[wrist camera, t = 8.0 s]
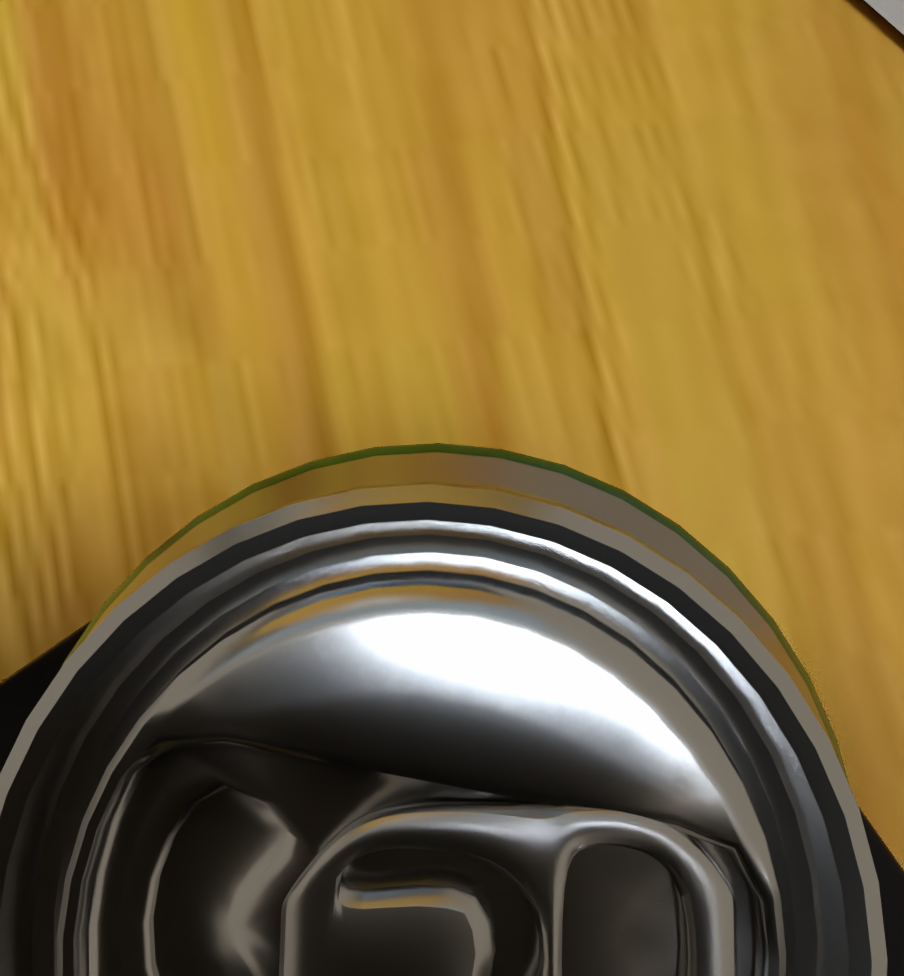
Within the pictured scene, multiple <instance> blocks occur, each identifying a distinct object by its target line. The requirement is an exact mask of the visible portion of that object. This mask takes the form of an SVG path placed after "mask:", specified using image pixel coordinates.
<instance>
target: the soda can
mask: <svg viewBox="0 0 904 976" xmlns="http://www.w3.org/2000/svg"><path fill="white" fill-rule="evenodd" d="M0 976H887V951H886V942H885V933H884V924H883V915H882V907H881V898H880V889H879V881H878V878H877V874H876V870H875V866H874V863H873V859H872V855H871V851H870V848H869V844H868V840H867V836H866V833H865V829H864V825H863V821H862V818H861V814H860V810H859V807H858V805H857V802H856V800H855V798H854V796H853V793H852V791H851V789H850V786H849V783H848V779H847V775H846V771H845V768H844V764H843V760H842V756H841V753H840V749H839V745H838V741H837V739H836V736H835V734H834V732H833V730H832V727H831V725H830V723H829V720H828V718H827V716H826V713H825V711H824V709H823V707H822V704H821V702H820V700H819V697H818V695H817V693H816V691H815V688H814V686H813V684H812V681H811V679H810V677H809V675H808V674H807V672H806V670H805V669H804V667H803V666H802V664H801V662H800V661H799V659H798V658H797V656H796V654H795V653H794V651H793V650H792V648H791V646H790V645H789V643H788V642H787V640H786V638H785V637H784V635H783V634H782V632H781V631H780V629H779V627H778V626H777V624H776V623H775V621H774V619H773V618H772V617H771V616H770V615H769V613H768V612H767V611H766V610H765V609H764V608H763V607H762V605H761V604H760V603H759V602H758V601H757V600H756V598H755V597H754V596H753V595H752V594H751V593H750V591H749V590H748V589H747V588H746V587H745V586H744V584H743V583H742V582H741V581H740V580H739V579H738V577H737V576H736V575H735V574H734V573H733V572H732V571H731V569H730V568H729V567H728V566H726V565H725V564H724V563H723V562H722V561H721V560H719V559H718V558H717V557H716V556H715V555H714V554H712V553H711V552H710V551H709V550H708V549H707V548H705V547H704V546H703V545H702V544H701V543H700V542H698V541H697V540H696V539H695V538H694V537H693V536H691V535H690V534H689V533H688V532H687V531H686V530H684V529H683V528H682V527H681V526H680V525H678V524H677V523H675V522H674V521H672V520H670V519H669V518H667V517H666V516H664V515H662V514H661V513H659V512H658V511H656V510H654V509H653V508H651V507H649V506H648V505H646V504H645V503H643V502H641V501H640V500H638V499H637V498H635V497H633V496H632V495H630V494H629V493H627V492H625V491H624V490H622V489H619V488H617V487H614V486H612V485H610V484H607V483H605V482H603V481H600V480H598V479H596V478H593V477H591V476H589V475H586V474H584V473H582V472H579V471H577V470H575V469H572V468H570V467H568V466H565V465H562V464H558V463H554V462H550V461H546V460H543V459H539V458H535V457H531V456H527V455H523V454H519V453H515V452H511V451H507V450H503V449H494V448H484V447H473V446H463V445H452V444H441V443H434V444H418V445H402V446H385V447H373V448H369V449H364V450H360V451H355V452H351V453H346V454H341V455H337V456H332V457H328V458H323V459H319V460H314V461H311V462H308V463H306V464H303V465H301V466H298V467H296V468H293V469H290V470H288V471H285V472H283V473H280V474H278V475H275V476H272V477H270V478H267V479H265V480H262V481H260V482H257V483H254V484H252V485H251V486H249V487H247V488H245V489H244V490H242V491H240V492H238V493H237V494H235V495H233V496H232V497H230V498H228V499H226V500H225V501H223V502H221V503H219V504H218V505H216V506H214V507H212V508H211V509H209V510H207V511H206V512H204V513H202V514H200V515H199V516H197V517H196V518H195V519H193V520H192V521H191V522H190V523H188V524H187V525H186V526H185V527H183V528H182V529H181V530H180V531H178V532H177V533H176V534H175V535H173V536H172V537H171V538H170V539H168V540H167V541H166V542H165V543H163V544H162V545H161V546H160V547H158V548H157V549H156V550H155V551H153V552H152V553H151V554H150V555H148V556H147V557H146V558H145V559H144V560H143V561H142V563H141V564H140V565H139V566H138V567H137V568H136V569H135V570H134V571H133V572H132V573H131V574H130V576H129V577H128V578H127V579H126V580H125V581H124V582H123V583H122V584H121V585H120V586H119V588H118V589H117V590H116V591H115V592H114V593H113V594H112V595H111V596H110V597H109V598H108V599H107V601H106V602H105V603H104V604H103V605H102V606H101V608H100V609H99V611H98V612H97V614H96V615H95V617H94V618H93V619H92V621H91V622H90V624H89V625H88V627H87V628H86V630H85V631H84V633H83V634H82V636H81V637H80V639H79V640H78V642H77V643H76V645H75V646H74V648H73V649H72V651H71V652H70V654H69V655H68V656H67V658H66V659H65V661H64V663H63V665H62V667H61V669H60V671H59V672H58V674H57V675H56V677H55V678H54V679H53V681H52V682H51V684H50V685H49V687H48V688H47V690H46V691H45V693H44V694H43V696H42V697H41V699H40V700H39V702H38V703H37V705H36V706H35V708H34V709H33V711H32V712H31V714H30V715H29V716H28V718H27V719H26V721H25V723H24V725H23V727H22V730H21V732H20V734H19V736H18V738H17V740H16V742H15V744H14V746H13V748H12V750H11V752H10V755H9V757H8V759H7V761H6V763H5V765H4V767H3V769H2V771H1V773H0Z"/></svg>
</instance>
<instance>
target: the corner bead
mask: <svg viewBox="0 0 904 976" xmlns="http://www.w3.org/2000/svg"><path fill="white" fill-rule="evenodd" d="M865 1H866V2H867V3H868V4H869V5H870V6H871V7H872V8H874V9H875V10H876V11H877V12H878V13H879V14H880V15H882V16H883V17H884V18H885V19H886V20H887V21H888V22H890V23H891V24H892V25H893V26H894V27H895V28H896V29H897V30H899V31H900V32H901V33H902V34H903V35H904V0H865Z"/></svg>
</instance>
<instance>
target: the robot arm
mask: <svg viewBox="0 0 904 976" xmlns="http://www.w3.org/2000/svg"><path fill="white" fill-rule="evenodd" d="M91 621H92V620H91ZM91 621H90V622H91ZM90 622H88V623H87V624H85V625H84V626H82V627H81V628H79V629H78V630H76V631H75V632H74V633H72V634H71V635H69V636H68V637H66V638H65V639H63V640H62V641H61V642H59V643H58V644H56V645H55V646H53V647H52V648H50V649H49V650H47V651H46V652H45V653H43V654H42V655H40V656H39V657H37V658H36V659H34V660H33V661H31V662H30V663H29V664H27V665H26V666H24V667H23V668H21V669H20V670H18V671H17V672H16V673H14V674H13V675H11V676H10V677H8V678H7V679H5V680H4V681H2V682H1V683H0V773H1V771H2V769H3V767H4V765H5V763H6V761H7V759H8V757H9V755H10V752H11V750H12V748H13V746H14V744H15V742H16V740H17V738H18V736H19V734H20V732H21V730H22V727H23V725H24V723H25V721H26V719H27V718H28V716H29V715H30V714H31V712H32V711H33V709H34V708H35V706H36V705H37V703H38V702H39V700H40V699H41V697H42V696H43V694H44V693H45V691H46V690H47V688H48V687H49V685H50V684H51V682H52V681H53V679H54V678H55V677H56V675H57V674H58V672H59V671H60V669H61V667H62V665H63V663H64V661H65V659H66V658H67V656H68V655H69V654H70V652H71V651H72V649H73V648H74V646H75V645H76V643H77V642H78V640H79V639H80V637H81V636H82V634H83V633H84V631H85V630H86V628H87V627H88V625H89V624H90ZM858 807H859V806H858ZM859 810H860V814H861V818H862V821H863V825H864V829H865V833H866V836H867V840H868V844H869V848H870V851H871V855H872V859H873V863H874V866H875V870H876V874H877V878H878V881H879V889H880V898H881V907H882V915H883V924H884V933H885V942H886V951H887V976H904V870H903V869H902V867H901V866H900V865H899V863H898V862H897V860H896V859H895V858H894V856H893V855H892V853H891V852H890V850H889V849H888V848H887V846H886V845H885V843H884V842H883V840H882V839H881V838H880V836H879V835H878V833H877V832H876V830H875V829H874V828H873V826H872V825H871V823H870V822H869V820H868V819H867V818H866V816H865V815H864V813H863V812H862V810H861V809H860V808H859Z"/></svg>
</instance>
